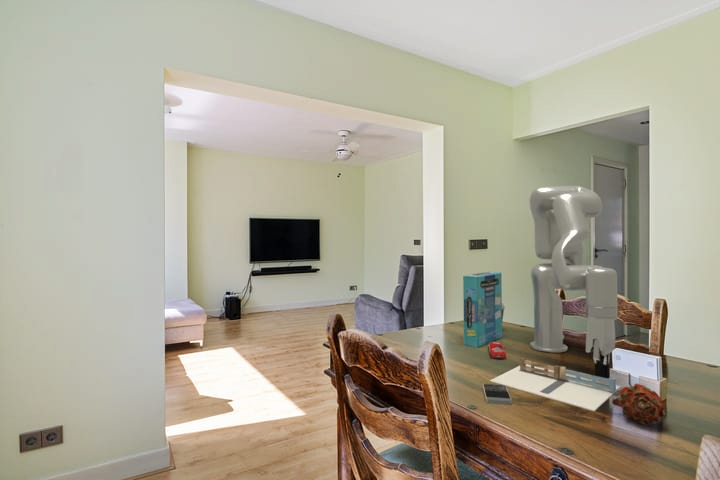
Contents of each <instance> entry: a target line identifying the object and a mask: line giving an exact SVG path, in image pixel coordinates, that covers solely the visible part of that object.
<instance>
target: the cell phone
mask: <svg viewBox="0 0 720 480" xmlns="http://www.w3.org/2000/svg"><path fill="white" fill-rule="evenodd" d="M482 390H483V393H484V397H485V401H486V402H487V404H492V405H505V406H510V405H512V403H513V402H512V397H511V396H510V393H509V390H508V387H507V386H503V385H500V384H494V383H493V384H489V383H486V384H482Z"/></svg>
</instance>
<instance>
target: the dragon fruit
mask: <svg viewBox="0 0 720 480" xmlns="http://www.w3.org/2000/svg"><path fill="white" fill-rule="evenodd" d="M618 390H619V392H618V393H615V395H614V396H616V398H614V397H611V403H612V404H613V406H615V407H616V406H617V407H619V408H622V415H623V416H625V417H626V418H627V419H629V420H634V421H635V422H637V423H639V424H642V425H645V426H647V425H649V424H657V423H658V422H659V421H660V418H662V417H663V418H664V417H666V416H667V415H666V409H665V406H664V405H663V404H662V402H663V400H662V398H661V397H660V396H659V394H658V393H657V392H656V391H654V390H651V388H649V387H647V386H645V385H644V384H639V383H635V384H634V385H633V386H624V387H621V388H619V389H618ZM617 396H618V397H617Z"/></svg>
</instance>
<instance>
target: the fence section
mask: <svg viewBox="0 0 720 480" xmlns="http://www.w3.org/2000/svg"><path fill="white" fill-rule="evenodd" d="M526 364H527V365H531V367H528V366H526ZM519 366H520V370H521V371H525V370H530V371H531V373H534V372H539V373H543V374H544V376H548V375H551V376H554V379H557V380H559V379H560V367H561V365H554V366H553V365H549V364H548V363H542V362H541V363H540V362H536V361H534V360H526V358H525V357H520V358H519ZM534 366H536V367H540V368H544V370H541V369H537V368H534ZM548 370H553V371H554V372H549V371H548Z"/></svg>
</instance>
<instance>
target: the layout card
mask: <svg viewBox="0 0 720 480" xmlns="http://www.w3.org/2000/svg"><path fill="white" fill-rule="evenodd" d="M526 366H528V367H531V365H527V364H526ZM534 368H537V369H541V370H544V368H540V367H536V366H534ZM548 371H549V372H554V371H553V370H548ZM566 376H570V377H575V378H576V376H574V375H570V374H566ZM580 379H583V380H587V381H591V382H592V380H591V379H587V378H582V377H580ZM489 382H490V383H493V384H495V385H503V386H506V388H511V389H514V390H518V391H521V392H525V393H528V394H531V395H535V396H538V397H542V398H545V399H548V400H552V401H554V402H555V401H556V402H560V403H563V404H566V405H568V406H569V405H570V406H574V407H576V408H577V407H578V408H580V409H582V410H583V409H584V410H587V411H590V412H594V413H595V412H596V411H597V410H598V409H599V408H600V407H601V406H602V405H603V404H605V402H606V401H608V400H609V399H610V398H612V396H613V395H614V394H616V393H617V391H618V390H617V389H616V391H615V392H610V391H609V390H608V389H604V388H600V387H593V386H592V385H588V384H583V383H577V382H575V381H571V380H567V379H566V380H562V379H559V380H557V379H554V376H551V375H548V376H544V374H543V373H539V372H534V373H531V371H530V370H525V371H521V370H520V365H518V366H516V367H515V368H512V369H510V370H508V371H507V372H503V374H500V375H498V376H496V377H494V378H492V379H490V380H489ZM596 383H600V384H604V385H608V386H609V384H608V383H604V382H600V381H596Z"/></svg>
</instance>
